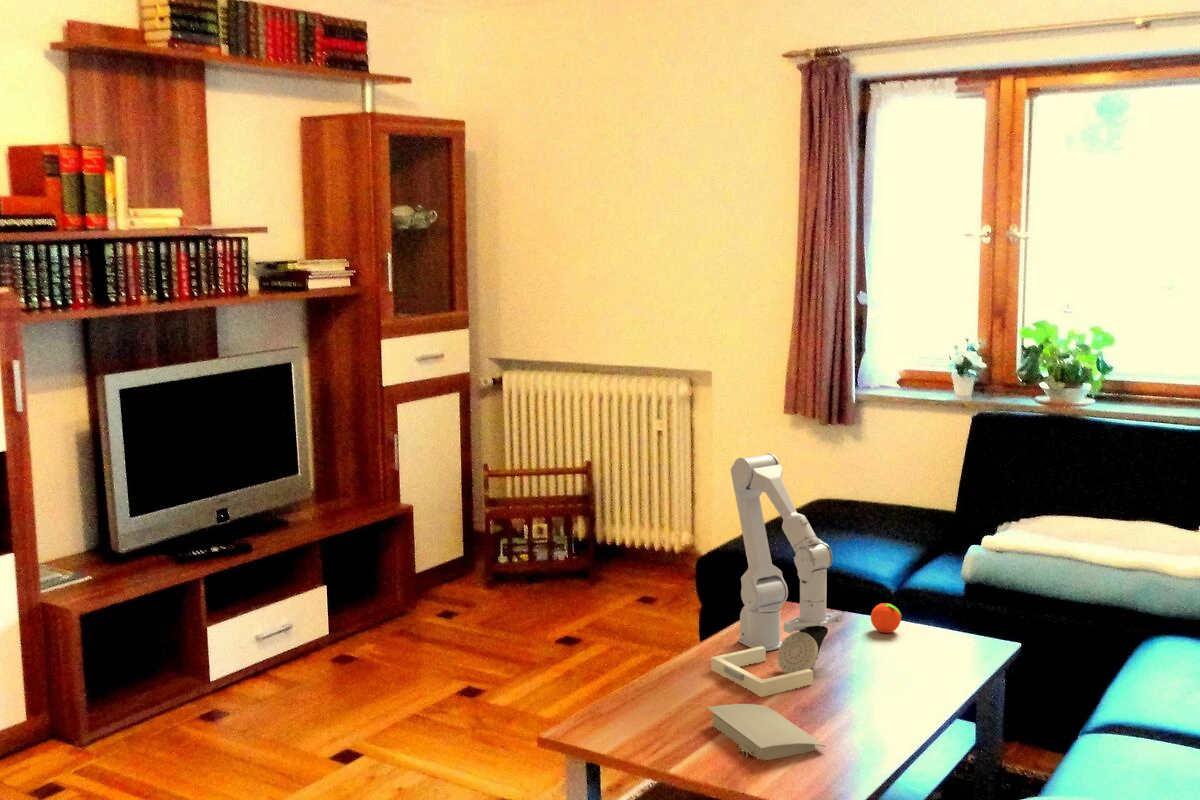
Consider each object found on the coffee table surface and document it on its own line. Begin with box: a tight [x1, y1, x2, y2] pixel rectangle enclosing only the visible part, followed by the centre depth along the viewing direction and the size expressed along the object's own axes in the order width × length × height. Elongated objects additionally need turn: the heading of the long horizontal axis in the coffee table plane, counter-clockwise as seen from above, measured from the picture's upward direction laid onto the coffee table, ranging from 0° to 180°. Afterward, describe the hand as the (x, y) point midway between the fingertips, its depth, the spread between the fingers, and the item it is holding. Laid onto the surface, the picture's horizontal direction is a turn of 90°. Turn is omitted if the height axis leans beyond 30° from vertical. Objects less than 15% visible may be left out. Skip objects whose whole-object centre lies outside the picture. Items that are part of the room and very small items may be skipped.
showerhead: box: [777, 631, 819, 674], centre depth 265 cm, size 9×7×10 cm
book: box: [706, 703, 827, 761], centre depth 231 cm, size 15×23×4 cm, turn 23°
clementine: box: [870, 602, 903, 634], centre depth 289 cm, size 8×7×7 cm
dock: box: [710, 646, 814, 698], centre depth 262 cm, size 18×14×3 cm
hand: (812, 658), depth 269 cm, fingers closed
